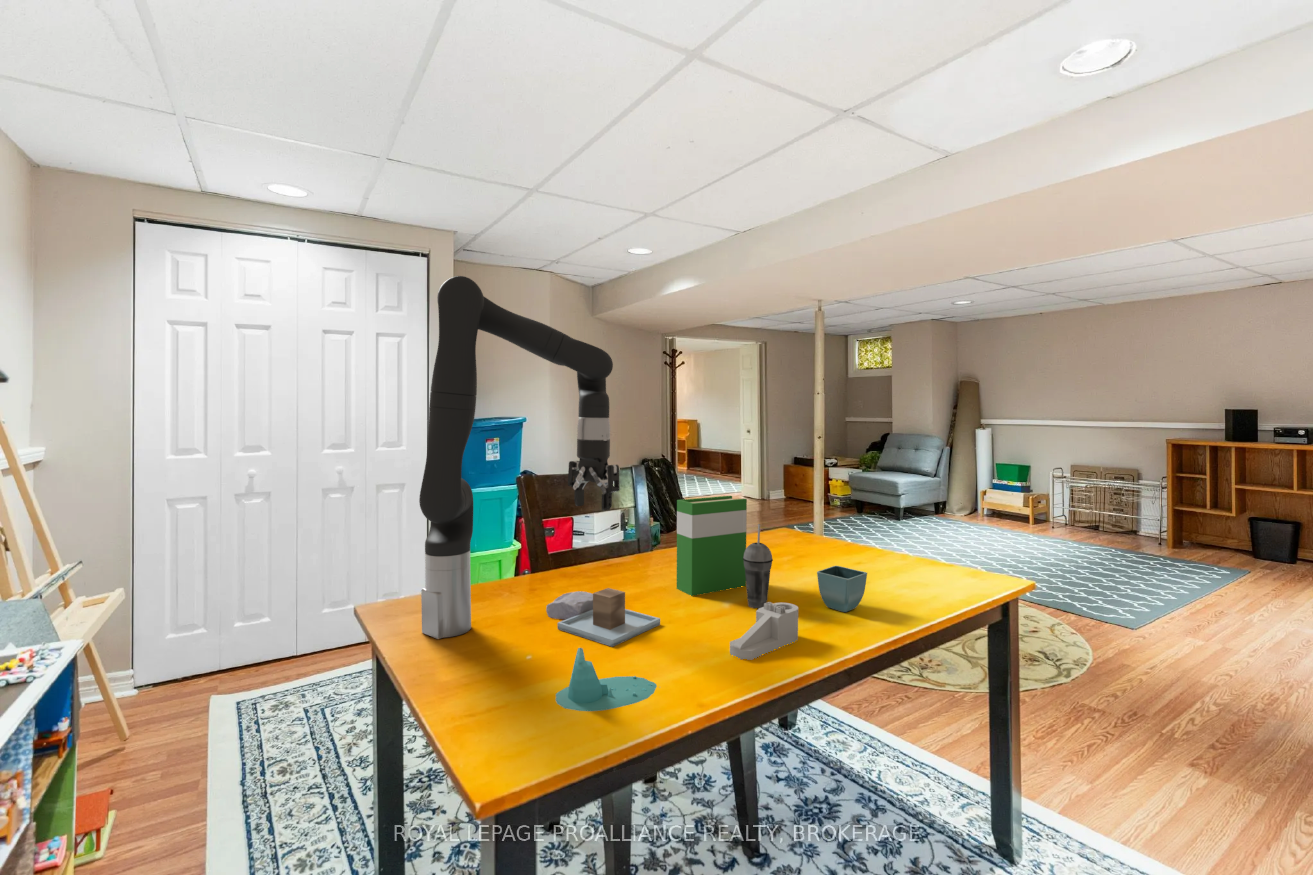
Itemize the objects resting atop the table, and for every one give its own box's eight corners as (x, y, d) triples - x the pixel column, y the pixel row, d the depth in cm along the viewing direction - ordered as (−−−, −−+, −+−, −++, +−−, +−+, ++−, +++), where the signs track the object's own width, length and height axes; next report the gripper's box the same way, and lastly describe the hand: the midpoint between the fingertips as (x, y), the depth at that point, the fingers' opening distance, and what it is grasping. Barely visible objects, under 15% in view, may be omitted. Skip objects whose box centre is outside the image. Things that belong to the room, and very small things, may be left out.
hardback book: (729, 579, 168) (730, 495, 167) (745, 586, 162) (746, 498, 161) (676, 588, 159) (677, 500, 158) (691, 596, 153) (692, 503, 152)
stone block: (543, 625, 137) (582, 621, 134) (540, 604, 137) (579, 600, 134) (566, 611, 148) (603, 607, 145) (563, 591, 149) (599, 587, 146)
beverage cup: (739, 608, 144) (739, 526, 143) (746, 599, 150) (746, 521, 149) (769, 612, 141) (770, 528, 140) (774, 603, 148) (775, 523, 147)
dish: (612, 646, 120) (612, 640, 120) (557, 629, 129) (557, 622, 129) (660, 624, 132) (660, 618, 132) (606, 609, 142) (606, 604, 142)
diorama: (676, 700, 98) (676, 649, 98) (557, 723, 91) (557, 668, 91) (650, 670, 110) (650, 625, 109) (542, 689, 102) (542, 640, 102)
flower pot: (848, 617, 138) (848, 579, 137) (815, 607, 144) (815, 571, 144) (867, 609, 144) (868, 572, 143) (835, 600, 150) (835, 565, 150)
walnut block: (610, 629, 127) (610, 597, 127) (593, 624, 130) (592, 593, 130) (625, 623, 131) (625, 592, 131) (608, 618, 134) (608, 587, 134)
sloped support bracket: (724, 653, 117) (725, 613, 117) (781, 631, 129) (781, 595, 129) (746, 663, 113) (747, 621, 113) (803, 639, 125) (803, 602, 124)
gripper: (560, 436, 137) (559, 506, 138) (604, 439, 128) (603, 513, 129) (583, 436, 143) (582, 502, 144) (627, 438, 134) (626, 509, 135)
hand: (592, 507), depth 136 cm, fingers open, 8 cm apart
